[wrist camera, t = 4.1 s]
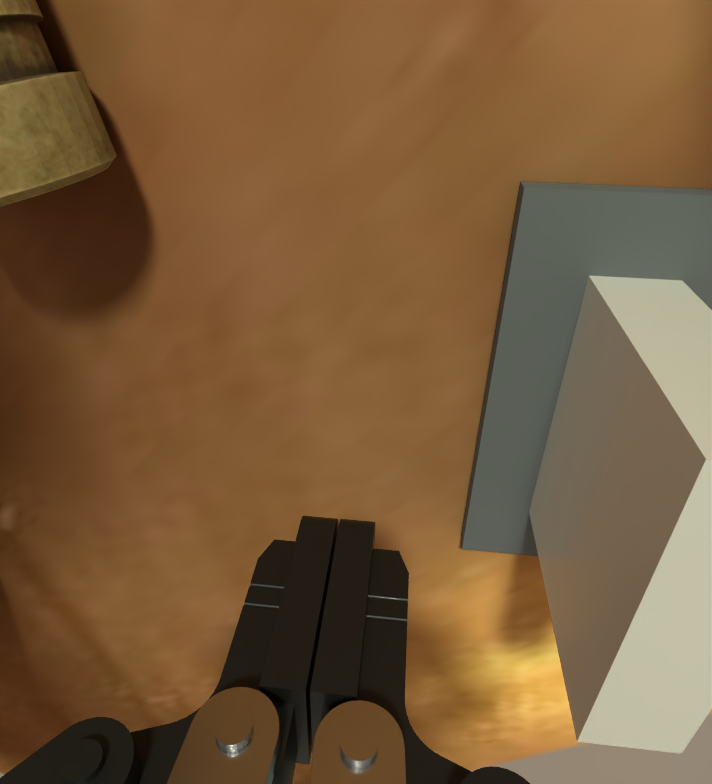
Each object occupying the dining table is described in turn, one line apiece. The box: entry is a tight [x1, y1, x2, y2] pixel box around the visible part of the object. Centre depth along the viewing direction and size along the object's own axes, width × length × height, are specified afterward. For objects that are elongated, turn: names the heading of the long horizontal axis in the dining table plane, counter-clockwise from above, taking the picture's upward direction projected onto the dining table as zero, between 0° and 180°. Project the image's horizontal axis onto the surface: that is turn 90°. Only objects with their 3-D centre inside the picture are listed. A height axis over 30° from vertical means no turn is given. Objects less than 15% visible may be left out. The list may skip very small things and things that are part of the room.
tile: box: [529, 276, 712, 753], centre depth 13 cm, size 2×8×7 cm, turn 179°
